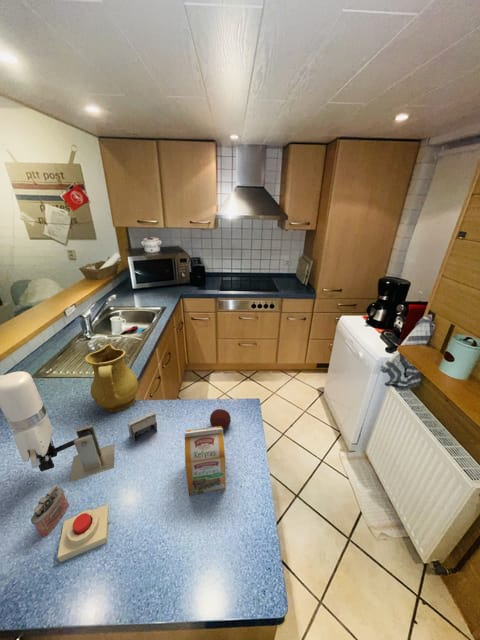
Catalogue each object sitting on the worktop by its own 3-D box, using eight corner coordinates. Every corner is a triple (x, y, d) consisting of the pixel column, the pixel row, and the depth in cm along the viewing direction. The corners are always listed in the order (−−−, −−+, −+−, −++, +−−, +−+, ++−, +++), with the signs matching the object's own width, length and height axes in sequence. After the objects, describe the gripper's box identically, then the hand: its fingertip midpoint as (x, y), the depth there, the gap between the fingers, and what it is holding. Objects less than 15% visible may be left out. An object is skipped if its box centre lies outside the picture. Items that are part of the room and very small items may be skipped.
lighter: (48, 541, 61) (35, 517, 57) (36, 538, 62) (22, 514, 57) (74, 506, 68) (64, 482, 64) (63, 503, 69) (52, 480, 65)
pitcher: (149, 389, 111) (137, 341, 100) (125, 423, 95) (107, 371, 84) (114, 385, 114) (99, 338, 103) (85, 417, 98) (63, 366, 86)
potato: (212, 418, 97) (211, 404, 94) (231, 419, 97) (231, 405, 94) (208, 433, 91) (207, 419, 88) (229, 435, 90) (229, 421, 87)
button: (73, 536, 59) (71, 532, 58) (75, 520, 62) (73, 516, 61) (90, 530, 60) (88, 526, 60) (92, 514, 63) (90, 510, 63)
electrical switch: (155, 425, 94) (153, 408, 89) (161, 435, 90) (158, 418, 86) (129, 437, 89) (125, 420, 84) (134, 449, 85) (130, 431, 81)
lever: (40, 466, 71) (33, 459, 69) (43, 456, 73) (36, 450, 72) (92, 442, 74) (86, 435, 73) (93, 434, 77) (88, 427, 75)
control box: (59, 562, 58) (54, 553, 56) (66, 525, 64) (62, 516, 63) (107, 542, 61) (104, 533, 60) (109, 508, 68) (106, 500, 66)
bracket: (69, 484, 74) (56, 452, 68) (74, 458, 81) (62, 427, 75) (114, 469, 78) (105, 438, 72) (115, 446, 85) (107, 416, 80)
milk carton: (221, 457, 82) (221, 413, 74) (225, 489, 73) (225, 444, 65) (189, 461, 81) (184, 418, 73) (188, 496, 71) (183, 450, 63)
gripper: (20, 399, 71) (41, 444, 79) (-4, 446, 57) (24, 495, 65) (52, 392, 74) (69, 436, 81) (36, 435, 60) (58, 484, 68)
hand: (49, 462), depth 73 cm, fingers closed on lever, 3 cm apart
